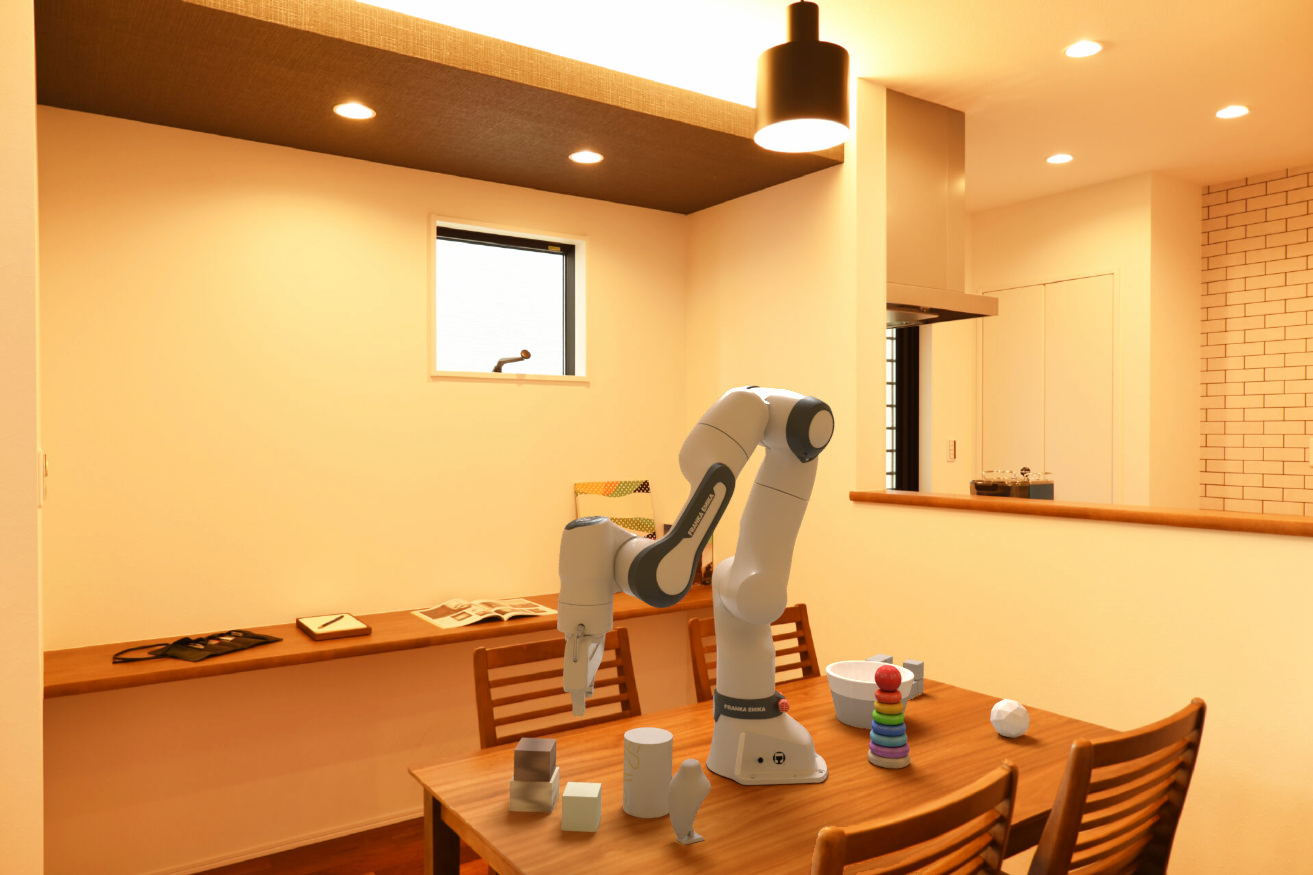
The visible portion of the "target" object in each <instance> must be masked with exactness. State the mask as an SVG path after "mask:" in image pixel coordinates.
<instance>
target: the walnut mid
mask: <svg viewBox="0 0 1313 875" xmlns="http://www.w3.org/2000/svg"><path fill="white" fill-rule="evenodd" d="M513 751H514V752H513V775H514V781H539V782H550V780H551V778H552V776H553V774H554V771H555V769H556V767H557V738H544V737H543V738H542V737H540V738H539V737H538V738H537V737H521V739H520V740H519V742H517V745H516V747H515V748H514V750H513Z"/></svg>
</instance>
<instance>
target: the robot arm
mask: <svg viewBox="0 0 1313 875" xmlns="http://www.w3.org/2000/svg"><path fill="white" fill-rule="evenodd" d="M834 431H835V418H834V413H833V410H832V408H831V407H830V406H829V404H828V403H826V402H825V401H823V400H821V399H819V398H817V397H815V396H813V395H812V396H811V395H809V396H808V395H805V394H802V393H798V392H795V391H791V390H787V389H783V388H782V389H779V388H777V389H776V388H771V387H761V386H758V385H745V386H740V387H734V388H730V389H728V390H727V391H726V392H724V393H723V394H722V395H721V396H720V397H719V398H718V399H717V400H716V401H715V402H714V403H713V404H712V405H711V406H710V407H709V408H708V409H707V410H706V411H705V413H704V414H703V415H702V417H700V418H699V420H698V421H697V423H696V424H695V425H694V427H693V428H692V429H691V431H689V433H688V435H687V437H686V438H685V439H684V441H683V444H682V445H681V448H680V450H679V452H678V464H679V465H678V466H679V468H680V471H681V474H682V476H683V477H684V479H685V480H686V481H687V482H688V484H689V485H690V491H689V495H688V497H687V499H686V500H685V502H684V505H683V506H682V508H681V510H680V512H679V513H678V514H677V517H676V518H675V520H674V522H672V523H673V524H672V525H671V527H670V528H669V530H668V531H667V532H666V534H664V535H663V536H662V537H659V538H658V539H651V538H648V537H645V536H641V535H638V534H635V533H633V532H631V531H629V530H626V529H625V528H623V527H620V526H619V525H618V524H616V523H615V522H613V521H612V519H610V518H609V517H608V516H604V515H603V516H602V515H594V516H584V517H579V518H576V519H573V520H572V521H570V522H568V523H567V524H566V525H565V527H564V529H563V530H562V535H561V540H560V545H559V555H558V556H559V557H558V558H559V559H558V577H559V581H560V590H559V592H558V597H557V623H556V624H557V626H556V628H557V630H558V631H559V632H561V633H564V640H565V642H566V643H565V647H564V656H563V657H564V659H563V674H562V686H563V691H564V692H565V693H569V694H570V697H571V703H572V715H573V716H574V717H576V716H577V717H582V716H584V715H585V712H586V699H587V698H588V699H591V698H592V697H593V695H594V685H595V678H596V673H597V671H598V669H599V667H600V664H601V663H602V661H603V657H604V651H605V645H606V644H605V643H606V634H607V633H609V632H611V631H612V630H613V626H614V623H613V622H614V621H613V620H614V596H615V594H616V593H624V594H626V595H628V596H631V597H634V598H637V599H638V600H640V601H641V602H644V603H645V604H647V605H648V606H650V607H653V608H656V609H657V608H658V609H665V608H669V607H672V606H675V605H676V604H678V603H679V602H681V601H682V600H684V598H685V597H686V596H687V595H688V593H689V591H690V590H691V588H692V585H693V583H694V579H695V575H696V574H697V573H696V572H697V569H698V565H699V562H700V559H701V556H703V555H702V554H703V552H704V550H705V548H706V547H707V546H708V545H707V544H708V543H709V542H710V539H711V538H712V536H713V533H715V530H716V528H717V527H718V524H719V523H720V521H721V519H722V517H723V516H724V514H725V512H726V510H727V508H728V506H729V504H730V502H731V499H732V497H733V495H734V493H735V490H736V482H737V480H738V478H739V475H740V474H741V471H743V469H744V467H745V466H746V464H747V463H748V461H749V460H750V459H751V456H752V455H753V454H754V452H755V451H756V449H757V447H758V446H761V447H763V448H764V449H765V456H764V457H763V459H762V461H761V463H760V465H759V468H758V470H757V473H756V475H755V477H754V480H753V483H752V486H751V489H750V492H749V494H748V497H747V500H746V502H745V506H744V508H743V511H742V514H741V517H740V520H739V529H738V530H739V532H738V539H737V543H736V548H735V553H734V554H735V555H733V556H729V557H726V558H724V559H723V560H721V561H720V562H719V563H718V564H716V565H715V567H714V570H713V572H712V575H711V588H712V589H711V590H712V605H713V606H712V607H713V618H714V619H713V620H714V632H715V640H716V688H714V691H713V697H712V698H713V699H712V715H713V719H714V724H713V732H712V740H711V744H710V749H709V754H708V757H707V759H706V766H707V768H708V770H710V771H712V773H713V772H714V773H715V774H717V775H718V776H722V777H725V778H729V779H731V780H734V781H735V782H736V783H739V784H740V785H743V786H754V785H755V786H758V785H781V784H782V785H783V784H784V785H785V784H786V785H787V784H808V783H809V784H810V783H811V784H812V783H813V784H814V783H822V782H824V781H825V780H826V779H827V778H828V766H827V763H826V761H825V759H824V757H822V756H821V755H820V754H818V753H817V752H816V749H815V744H814V741H813V737H812V736H811V734H810V732H809V731H808V729H807V728H806V727H804V726H803V725H802V724H801V723H800V722H798V721H797V720H795V718H793V717H792V716H791V715H789V714H788V713H787V712H789V711H790V708H791V706H790V702H789V701H788V699H787V698H786V697H785V695H783V693H782V692H781V691H777V690H776V647H775V644H774V640H773V634H772V627H771V626H772V625H771V624H772V623H773V622H776V621H777V620H778V619H779V618H780V617H781V616H783V614H784V612H785V610H786V608H787V604H788V584H789V578H790V575H791V574H790V573H791V568H792V561H793V557H794V556H793V555H794V550H795V546H796V541H797V538H798V534H799V531H800V528H801V525H802V522H803V519H804V516H805V514H806V511H807V508H808V505H809V502H810V499H811V496H812V492H813V488H814V485H815V481H816V476H817V470H818V464H819V455H820V454H821V453H822V452H823V451H824V450H825V449H826V448H827V446H828V445H829V443H830V442H831V440H832V438H833V435H834Z"/></svg>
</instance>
